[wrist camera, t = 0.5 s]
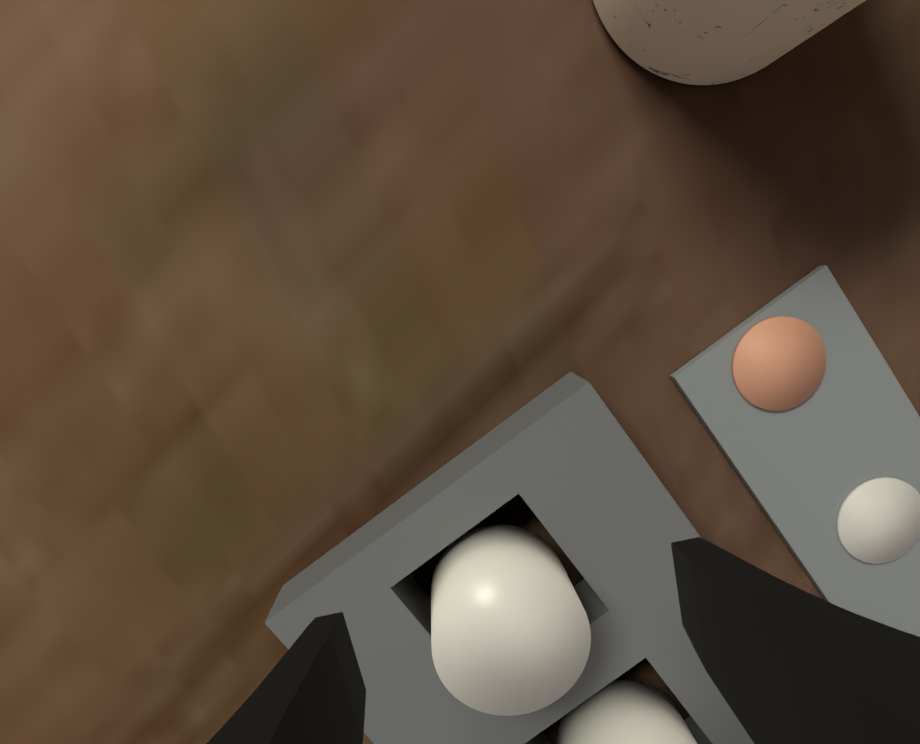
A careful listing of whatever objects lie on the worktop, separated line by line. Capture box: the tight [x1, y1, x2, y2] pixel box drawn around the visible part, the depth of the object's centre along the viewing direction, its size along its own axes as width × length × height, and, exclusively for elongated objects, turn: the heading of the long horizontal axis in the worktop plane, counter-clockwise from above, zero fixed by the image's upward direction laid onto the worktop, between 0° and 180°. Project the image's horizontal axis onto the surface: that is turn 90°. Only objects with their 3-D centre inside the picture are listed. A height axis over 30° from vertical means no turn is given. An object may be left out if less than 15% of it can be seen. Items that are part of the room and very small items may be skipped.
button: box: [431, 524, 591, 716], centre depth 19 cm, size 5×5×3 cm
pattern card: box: [670, 265, 920, 637], centre depth 23 cm, size 7×20×1 cm, turn 37°
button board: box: [265, 372, 754, 744], centre depth 22 cm, size 14×25×2 cm, turn 37°
